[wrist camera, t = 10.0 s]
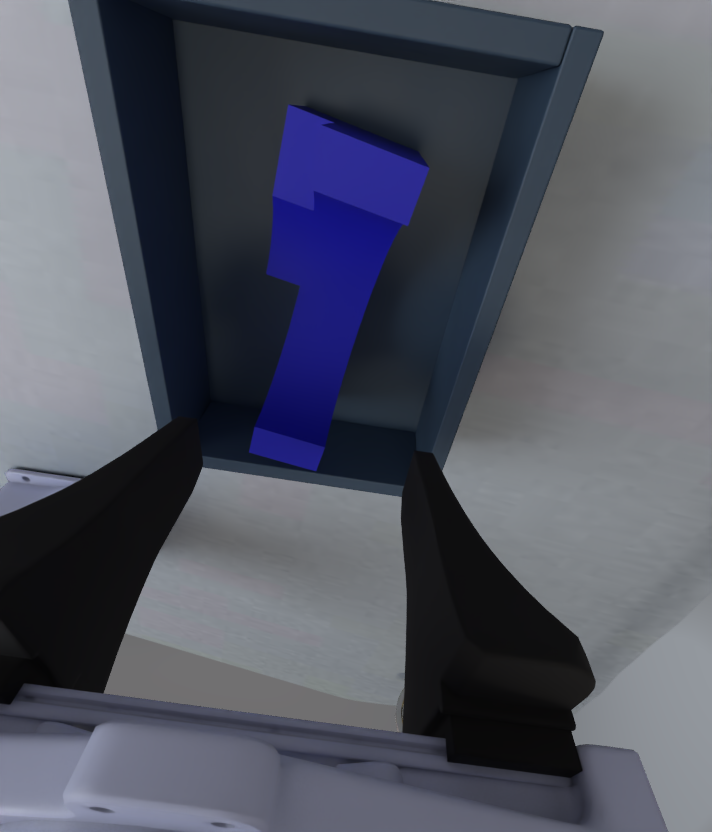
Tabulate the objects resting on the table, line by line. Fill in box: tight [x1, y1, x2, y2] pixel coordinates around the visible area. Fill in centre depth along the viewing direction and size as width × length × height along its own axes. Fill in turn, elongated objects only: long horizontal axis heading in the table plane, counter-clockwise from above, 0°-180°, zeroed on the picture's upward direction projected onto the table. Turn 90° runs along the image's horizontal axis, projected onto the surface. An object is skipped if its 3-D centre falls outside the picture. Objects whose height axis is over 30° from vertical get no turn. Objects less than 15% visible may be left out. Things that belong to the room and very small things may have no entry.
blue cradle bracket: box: [249, 104, 429, 471], centre depth 16 cm, size 12×4×6 cm, turn 162°
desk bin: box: [68, 0, 604, 497], centre depth 17 cm, size 14×18×5 cm
